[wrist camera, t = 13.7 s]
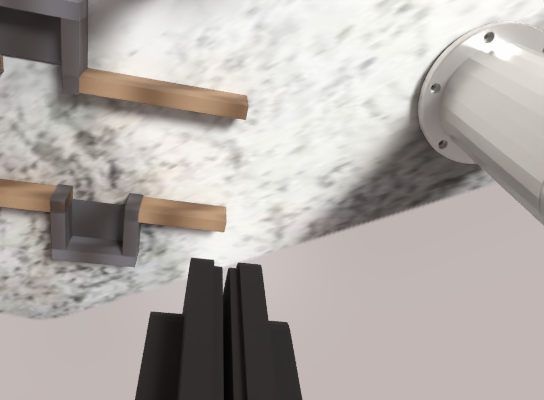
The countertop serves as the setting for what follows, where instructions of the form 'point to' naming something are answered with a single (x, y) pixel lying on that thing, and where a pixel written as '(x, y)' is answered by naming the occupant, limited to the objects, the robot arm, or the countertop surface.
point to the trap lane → (79, 79)
